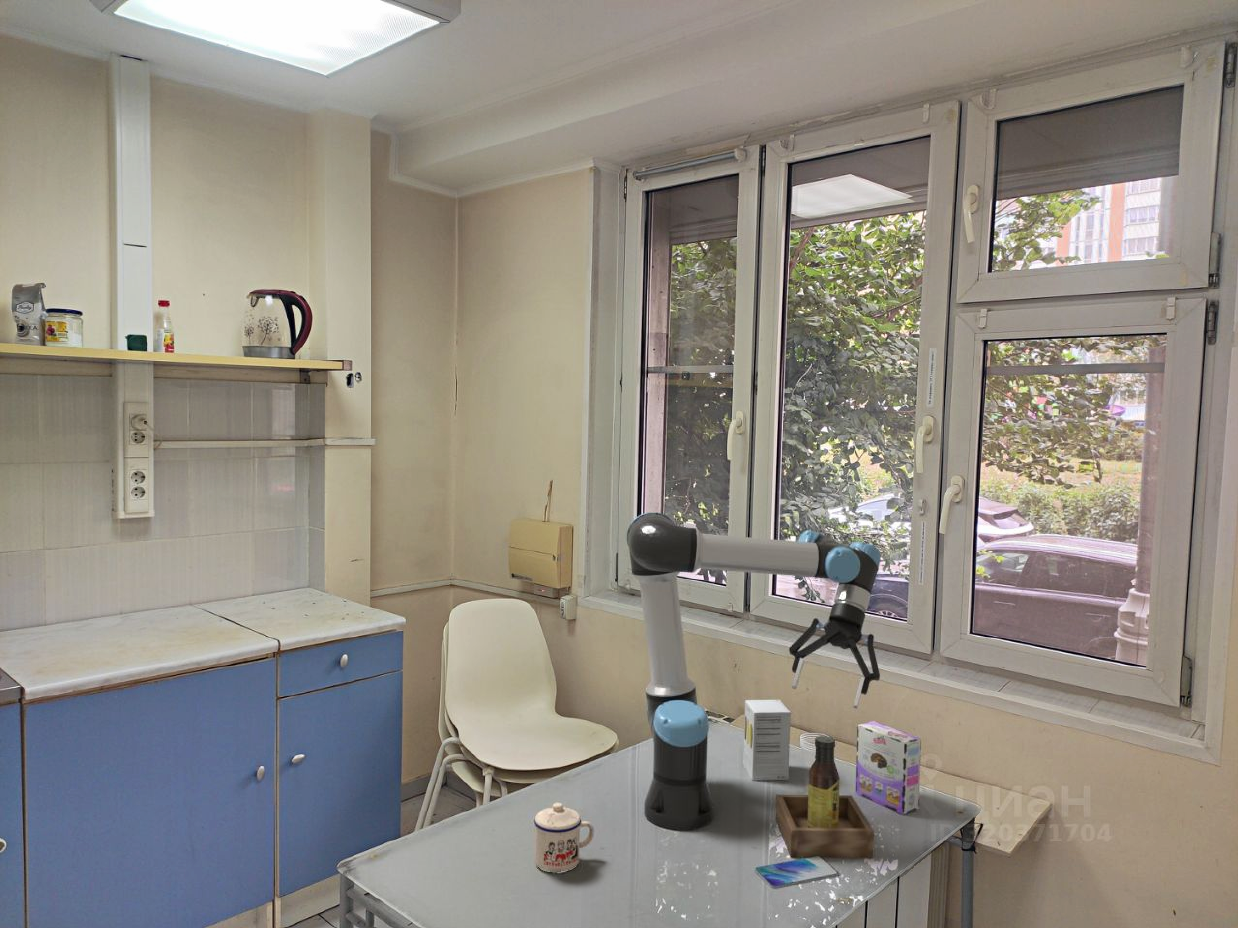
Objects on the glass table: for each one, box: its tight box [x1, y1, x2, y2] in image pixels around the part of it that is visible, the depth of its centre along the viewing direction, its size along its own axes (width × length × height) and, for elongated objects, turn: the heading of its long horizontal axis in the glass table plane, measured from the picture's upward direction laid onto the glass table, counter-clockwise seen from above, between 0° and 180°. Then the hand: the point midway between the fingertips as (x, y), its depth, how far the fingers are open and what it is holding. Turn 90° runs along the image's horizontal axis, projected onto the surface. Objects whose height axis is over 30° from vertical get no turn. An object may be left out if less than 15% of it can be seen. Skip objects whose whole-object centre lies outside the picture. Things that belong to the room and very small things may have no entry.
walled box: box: [774, 794, 875, 859], centre depth 185 cm, size 16×16×6 cm
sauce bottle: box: [807, 735, 840, 828], centre depth 184 cm, size 6×6×20 cm
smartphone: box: [754, 856, 840, 890], centre depth 171 cm, size 7×1×15 cm
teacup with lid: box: [533, 802, 595, 872], centre depth 173 cm, size 12×9×12 cm
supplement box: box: [742, 699, 792, 782], centre depth 217 cm, size 10×9×17 cm
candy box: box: [854, 720, 922, 815], centre depth 202 cm, size 14×6×16 cm, turn 34°
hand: (824, 697), depth 195 cm, fingers open, 13 cm apart
